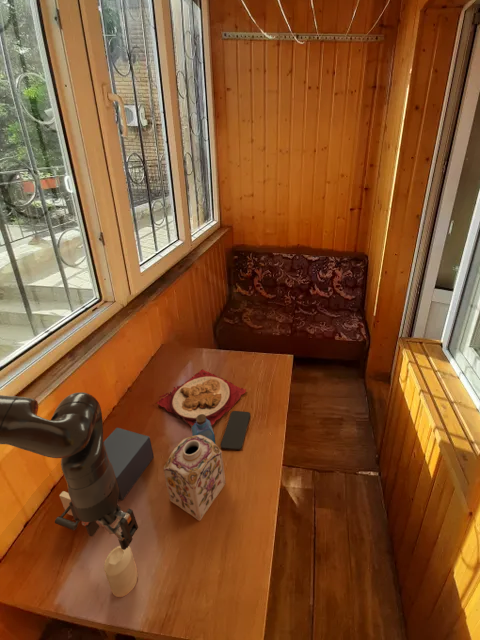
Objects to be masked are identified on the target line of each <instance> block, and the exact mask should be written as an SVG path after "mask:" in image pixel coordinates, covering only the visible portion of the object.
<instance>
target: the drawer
mask: <svg viewBox="0 0 480 640" xmlns="http://www.w3.org/2000/svg"><path fill="white" fill-rule="evenodd" d="M59 499H60V502H61V504H62V507H63V509H64V511H63V513H61V514H60V515H59V516H57V517H56V518H55V520H54V524H55V525H58V526H61V527H64V528H66V529H68V530H71V531H73V532H74V531H76V530H77V528H78V526H79V524H80V522H82V521H81V520H79V521H78V522H77V521H72V520H70V519H67V518H65V516H66V515H69V516H72V517H73V514H72V511H71V508H70V505H69V503H70V502H71V499H70V496H69V493H68V491H64V490H63V491H61V492H60V494H59Z"/></svg>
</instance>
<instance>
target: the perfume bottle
mask: <svg viewBox="0 0 480 640" xmlns="http://www.w3.org/2000/svg"><path fill="white" fill-rule="evenodd" d="M195 435H202V436H205V437H207V438H208V439H210V440H212V441H213V442H214V444H215V445H217V444H216V437H215V433H214V429H213V425H212V426H211V423H210V421H209V420H208V419H206V416H205V415H204V414H200V415H198V416H197V417H196V423H195V424H194V425H193V426H191V436H195Z"/></svg>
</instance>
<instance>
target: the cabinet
mask: <svg viewBox="0 0 480 640" xmlns="http://www.w3.org/2000/svg"><path fill="white" fill-rule="evenodd" d="M103 442H104V446H105V448H106V451H107V455H108V458H109V461H110V462H111V464H112V467H113V470H114V473H115V477H116V480H117V483H118V487H119V497H118V501H122V502H123V501H124V499H126V497H127V495H128V494H129V493H130V491H131V490H132V488H133V487H134V486H135V484H136V483H137V481H138V480H139V479H140V477H141V476H142V474H143V473H144V471H145V470H146V469H147V467H148V466H149V465H150V463H151V462H152V461H153V460H154V458H155V456H154V455H155V454H154V451H153V447H152V442H151V437H150V436H149V435H146V434H142V433H138V432H134V431H131V430H128V429H125V428H121V427H116V428H115V429H113V431H111V433H110V434H109V435H108V436H107V438H105V439H104V440H103Z"/></svg>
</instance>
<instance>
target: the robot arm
mask: <svg viewBox="0 0 480 640" xmlns="http://www.w3.org/2000/svg"><path fill="white" fill-rule="evenodd" d="M38 413H39V402H38V400H37V399H35V398H31V397H26V396H15V395H1V394H0V445H8V446H11V447H14V448H18V449H20V450H23V451H26V452H27V451H28V452H30V453H32V454H33V453H34V454H36V455H39V456H43V457H46V458H51V459H60V468H61V471H62V475H63V477H64V480H65V482H66V485H67V487H66V488H67V493H69V496H70V499H71V502H70V503H69V505H70V508H71V511H72V514H73V516H72V517H73V520H74V522H76V521H77V522H78V521H79V520H81V521H80V522H81V526H83V527H84V528H85V529H86V532H87V535H88V536H89V537H92V538H93V537H94V536H95V534H96V533H97V532H98V530H99V529H100V527H102V528H103V529H104V530H105V531H106V532H107V533H108V534H109V535H110V536H111V535H114V536H115V537H116V538H117V539H118V543H119V546H121V549H123V550H125V549H126V548H128V546H129V547H130V544H132V541H133V537H134V535H135V534H136V532H137V531H138V529H139V524H138V522H137V519H136V516H135V513H134V510H133V509H132V508H127V509H126V511H123V510H122V509H121V507H120V505H119V503H118V502H119V499H118V497H119V487H118V483H117V480H116V477H115V473H114V470H113V467H112V464H111V462H110V461H109V458H108V455H107V451H106V448H105V446H104V423H103V422H104V421H103V412H102V407H101V404H100V402H99V401H98V399H96V397H95V396H93V395H92V394H90V393H88V392H83V391H81V392H74V393H71V394H69V395H67V396H66V397H64V398H63V399H62V400H61V401H60V403H59V404H58V405H57V406H56V407H55V409H54V413H53V414H52V416H51V418H50V419H47V418H44V417H42V416H39V415H38ZM116 520H117V521H116ZM115 521H116V522H115ZM113 523H115V524H114V525H113V526H112V524H113ZM120 529H121V531H120Z"/></svg>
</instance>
